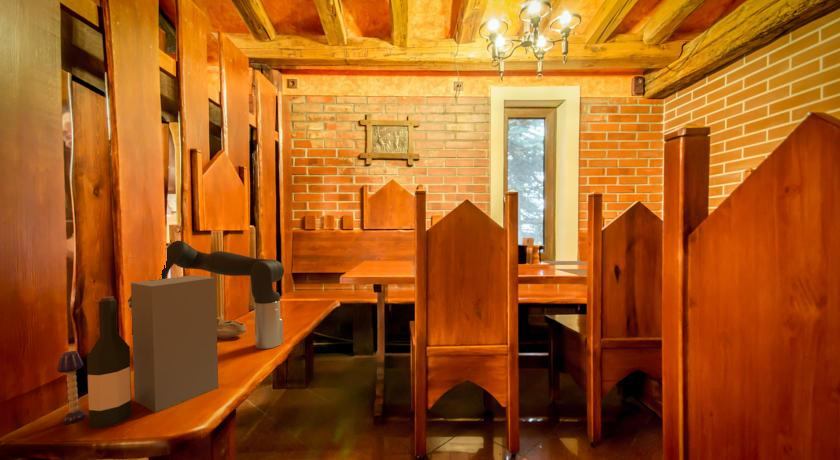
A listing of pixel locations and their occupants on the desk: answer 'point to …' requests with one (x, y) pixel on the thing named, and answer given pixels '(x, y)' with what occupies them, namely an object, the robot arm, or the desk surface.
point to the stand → (174, 340)
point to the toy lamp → (71, 384)
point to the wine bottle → (109, 372)
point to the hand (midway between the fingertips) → (163, 288)
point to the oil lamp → (229, 328)
